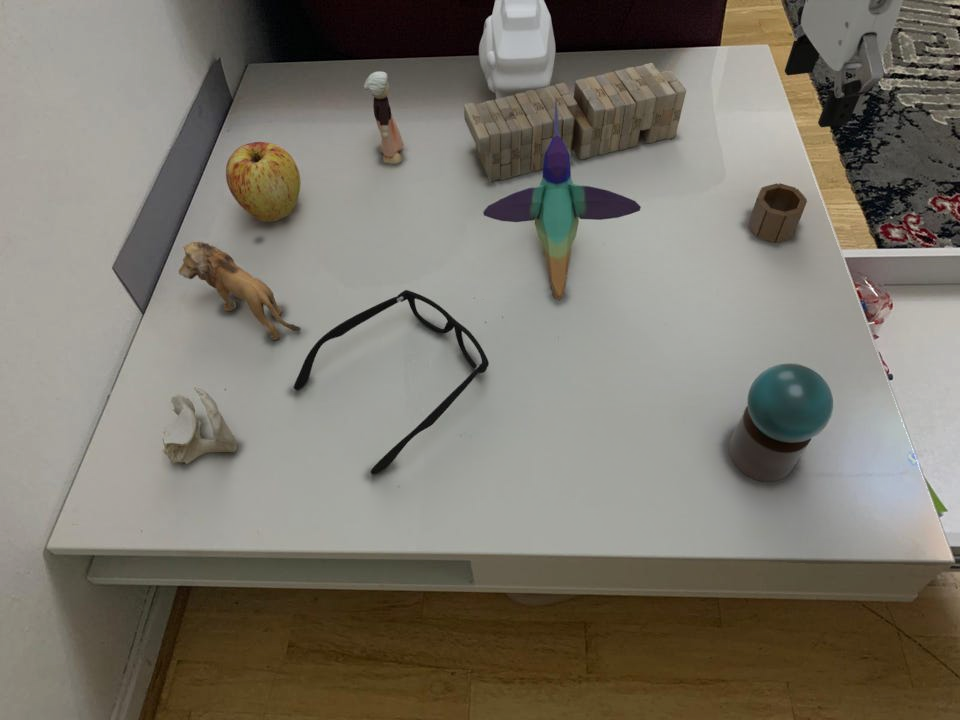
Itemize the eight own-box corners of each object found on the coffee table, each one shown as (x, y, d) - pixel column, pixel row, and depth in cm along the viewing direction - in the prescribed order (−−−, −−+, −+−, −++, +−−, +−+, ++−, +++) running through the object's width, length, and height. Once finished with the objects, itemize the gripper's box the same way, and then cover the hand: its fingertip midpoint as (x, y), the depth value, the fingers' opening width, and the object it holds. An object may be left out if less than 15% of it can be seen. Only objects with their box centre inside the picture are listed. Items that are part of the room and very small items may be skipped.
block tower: (652, 112, 108) (464, 151, 104) (662, 59, 101) (462, 99, 97) (675, 143, 104) (480, 185, 99) (688, 90, 97) (479, 133, 92)
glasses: (505, 387, 81) (506, 360, 77) (378, 483, 74) (372, 458, 70) (413, 305, 88) (409, 277, 84) (290, 385, 81) (279, 358, 77)
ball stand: (806, 439, 74) (853, 365, 64) (788, 497, 71) (835, 429, 60) (736, 412, 76) (770, 336, 66) (715, 467, 73) (748, 397, 62)
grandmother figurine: (412, 164, 103) (399, 84, 92) (386, 171, 102) (370, 92, 92) (395, 133, 107) (381, 53, 97) (370, 140, 106) (354, 61, 96)
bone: (135, 442, 76) (145, 367, 71) (188, 422, 81) (202, 351, 76) (185, 492, 73) (199, 418, 68) (237, 468, 78) (254, 397, 73)
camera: (550, 62, 115) (553, -42, 102) (557, 133, 105) (561, 28, 92) (481, 65, 116) (476, -38, 103) (481, 136, 105) (474, 32, 92)
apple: (286, 179, 102) (265, 118, 94) (321, 210, 98) (303, 150, 90) (230, 210, 99) (203, 150, 91) (264, 244, 95) (239, 184, 87)
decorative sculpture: (615, 193, 97) (628, 95, 85) (631, 298, 86) (648, 203, 74) (488, 197, 98) (483, 100, 86) (487, 302, 87) (481, 208, 75)
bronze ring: (799, 218, 92) (810, 191, 89) (788, 247, 90) (799, 220, 86) (755, 206, 94) (765, 179, 91) (743, 233, 91) (752, 207, 88)
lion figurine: (193, 307, 89) (163, 256, 82) (220, 278, 92) (194, 225, 84) (289, 348, 84) (266, 298, 77) (315, 316, 87) (296, 265, 80)
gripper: (961, -23, 62) (881, 142, 76) (872, -109, 72) (816, 51, 86) (876, -13, 62) (811, 150, 76) (799, -101, 72) (755, 58, 86)
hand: (814, 97), depth 81 cm, fingers open, 9 cm apart
